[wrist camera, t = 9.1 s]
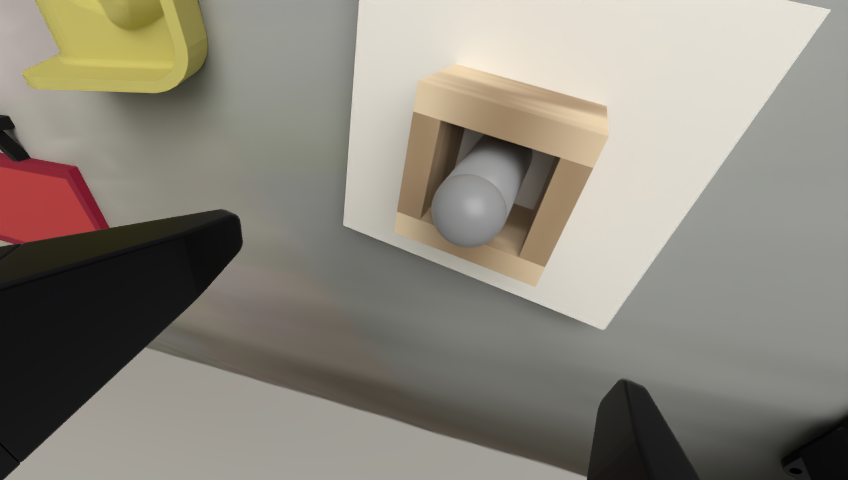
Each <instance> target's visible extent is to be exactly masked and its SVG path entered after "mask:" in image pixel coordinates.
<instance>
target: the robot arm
mask: <svg viewBox="0 0 848 480" xmlns="http://www.w3.org/2000/svg"><path fill="white" fill-rule="evenodd" d="M242 244H243V240H242V232H241V223H240V219H239V217H238V216H237V215H236V214H234V213H231V212H229V211H226V210H223V209H219V210H213V211H207V212H201V213H195V214H189V215H183V216H178V217H172V218H166V219H160V220H154V221H148V222H142V223H137V224H131V225H125V226H119V227H113V228H107V229H101V230H95V231H90V232H84V233H78V234H72V235H66V236H60V237H54V238H48V239H43V240H37V241H31V242H25V243H23V244H13V245H7V246H1V247H0V480H4V479H5V478H6V477H7V476H8V475H9V474H10V473H11V472H12V471H13V470H14V469H15V468H17V467H18V466H19V465H20V462H22V461H24V460H25V459H26V458H27V457H28V456H29V455H30V454H31V453H32V452H33V451H34V450H35V449H37V448H38V446H40V445H41V444H42V443H43V442H44V441H45V440H46V439H47V438H48V437H49V436H50V435H52V434H53V433H54V432H55V431H56V430H57V429H58V428H59V427H60V426H61V425H62V424H63V423H64V422H66V421H67V420H68V419H69V418H70V417H71V416H72V415H73V414H74V413H75V412H76V411H77V410H78V409H79V408H81V407H82V406H83V405H84V404H85V403H86V402H87V401H88V400H89V399H90V398H91V397H92V396H93V395H95V394H96V393H97V392H98V391H99V390H100V389H101V388H102V387H103V386H104V385H105V384H106V383H107V382H108V381H109V380H111V379H112V378H113V377H114V376H115V375H116V374H117V373H118V372H119V371H120V370H121V369H122V368H123V367H125V366H126V365H127V364H128V363H129V362H130V361H131V360H132V359H133V358H134V357H135V356H136V355H137V354H139V352H141V351H142V350H143V349H144V348H145V347H146V346H147V345H148V344H149V343H150V342H151V341H153V340H154V339H155V338H156V337H157V336H158V335H159V334H160V333H161V332H162V331H163V330H164V329H165V328H166V327H168V326H169V325H170V324H171V323H172V322H173V321H174V320H175V319H176V318H177V317H178V316H179V315H180V314H182V313H183V312H184V311H185V310H186V309H187V308H188V307H189V306H190V305H191V304H192V303H193V302H194V301H195V300H196V299H197V298H198V297H199V296H200V295H201V294H202V293H203V292H204V291H205V290H206V289H207V288H208V286H209V285H210V284H211V283H212V282H213V281H214V280H215V278H216V277H217V276H218V275H219V274H220V273H221V272H222V271H223V269H224V268H225V267H226V266H227V265H228V264H229V263H230V261H231V260H232V259H233V258H234V257H235V256H236V255H237V254H238V252H239V251H240V249H241V247H242ZM781 466H782V468H783V471H784V472H785V473H786V474H788V475H790V476H792V477H794V478H796V479H799V480H848V420H846V421H844V422H843V423H841V424H839V425H838V426H836V427H835V428H833V429H831V430H830V431H828V432H826V433H825V434H823V435H821V436H820V437H818V438H817V439H815V440H813V441H812V442H810V443H808V444H807V445H805V446H803V447H802V448H800V449H799V450H797V451H795V452H794V453H792V454H790V455H789V456H787V457H786V458H784V459H782V460H781ZM587 480H701V479H700V477H699V476H698V474H697V472H696V471H695V469H694V467H693V466H692V464H691V462H690V461H689V459H688V457H687V456H686V454H685V452H684V451H683V449H682V447H681V446H680V444H679V442H678V441H677V439H676V437H675V436H674V434H673V432H672V431H671V429H670V427H669V426H668V424H667V422H666V421H665V419H664V417H663V416H662V414H661V412H660V411H659V409H658V407H657V406H656V404H655V402H654V401H653V399H652V397H651V396H650V394H649V392H648V391H647V390H646V388H645V387H643V386H642V385H639V384H637V383H635V382H632V381H630V380H628V379H620V380H619V381H618V382H617V383H616V384H615V385H614V386H613V387H612V389H611V390H610V391H609V392H608V393H607V395H606V396H605V397H604V398H603V399H602V401H601V403H600V405H599V408H598V412H597V418H596V425H595V431H594V437H593V444H592V450H591V456H590V463H589V469H588V476H587Z"/></svg>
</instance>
